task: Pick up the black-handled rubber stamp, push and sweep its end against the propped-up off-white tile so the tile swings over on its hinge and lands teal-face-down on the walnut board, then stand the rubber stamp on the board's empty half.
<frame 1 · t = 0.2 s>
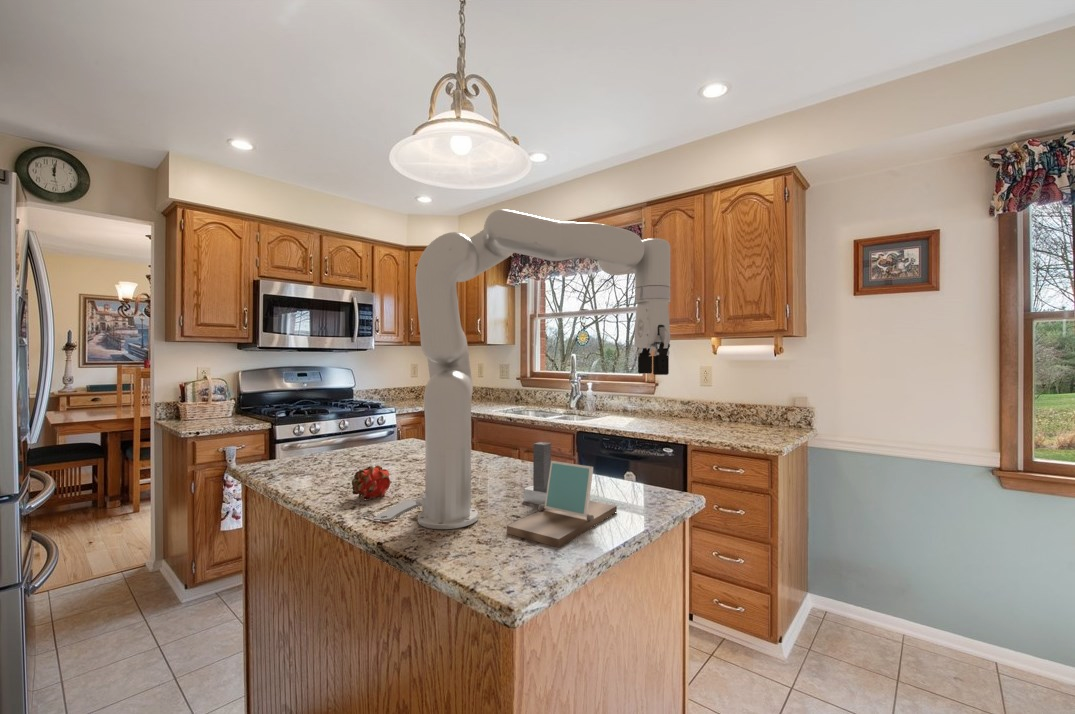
hand: (652, 374, 105), 31 cm above the countertop, tool pointing down, fingers open, 9 cm apart
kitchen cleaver: (408, 507, 111), on the countertop
board: (565, 522, 99), on the countertop
dragon fruit: (372, 498, 117), on the countertop
tile: (568, 487, 100), point 7 cm above the countertop, hinge at 75.0°
rubber stamp: (542, 502, 114), on the countertop
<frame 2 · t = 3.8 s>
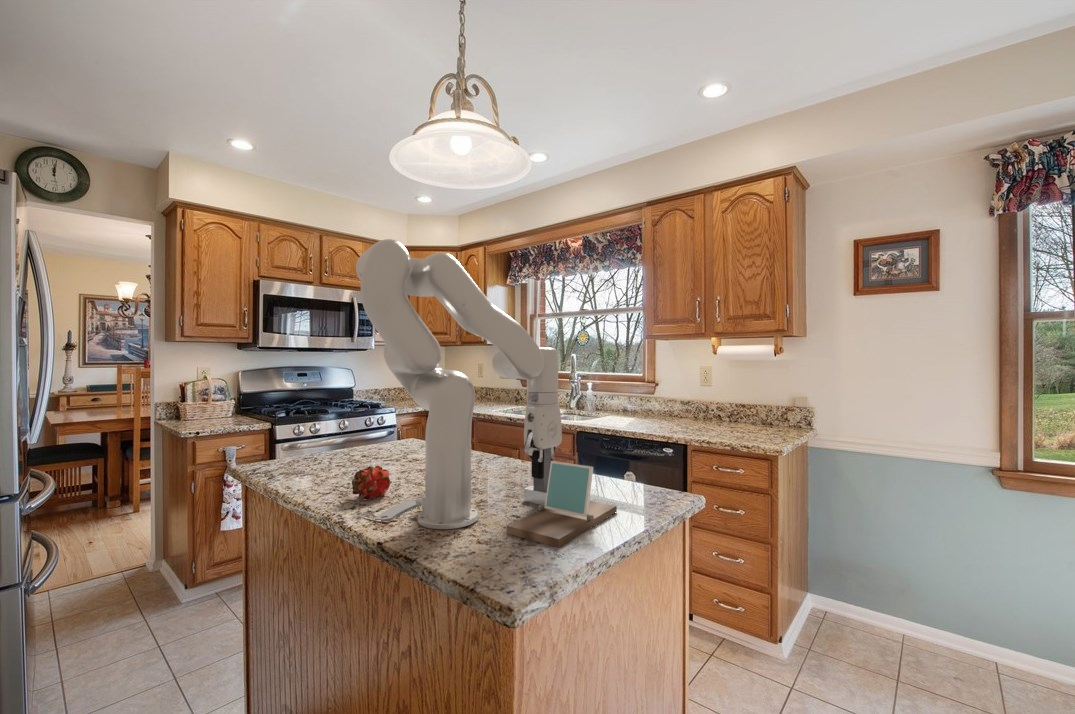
hand: (542, 475, 114), 6 cm above the countertop, tool pointing down, fingers closed on rubber stamp, 3 cm apart
rubber stamp: (542, 502, 114), on the countertop, touching gripper
everything else where it was.
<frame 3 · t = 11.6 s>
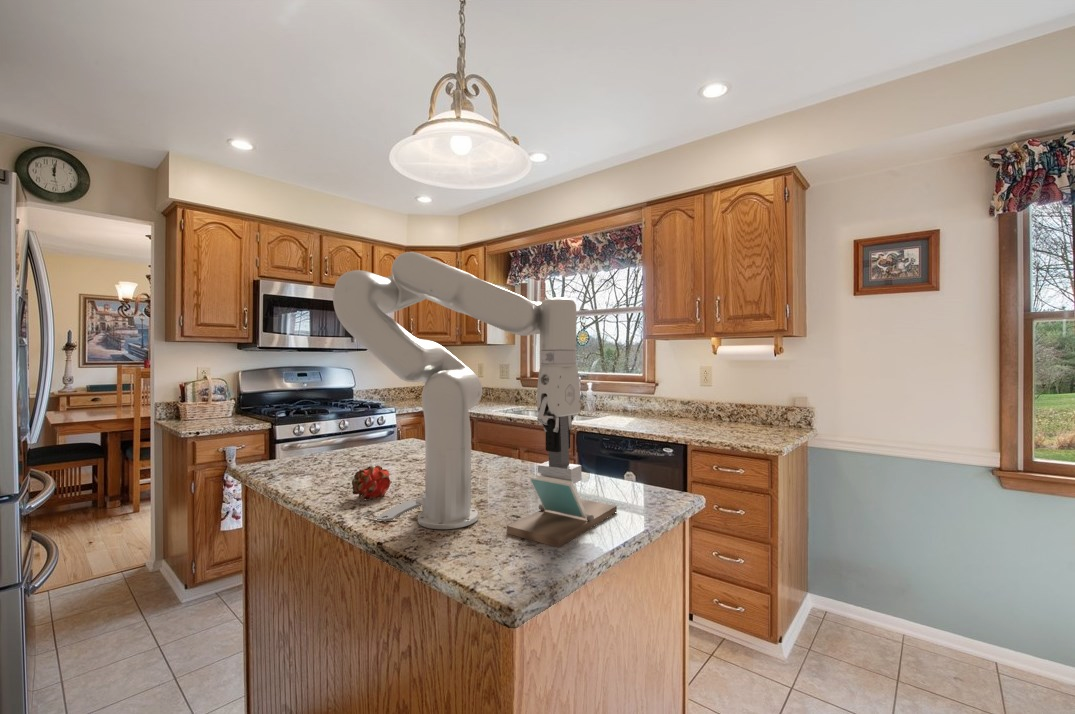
hand: (558, 449, 97), 16 cm above the countertop, tool pointing down, fingers closed on rubber stamp, 3 cm apart
tile: (557, 496, 97), point 6 cm above the countertop, hinge at 126.1°, touching rubber stamp
rubber stamp: (559, 479, 97), point 9 cm above the countertop, touching gripper, tile
everything else where it was.
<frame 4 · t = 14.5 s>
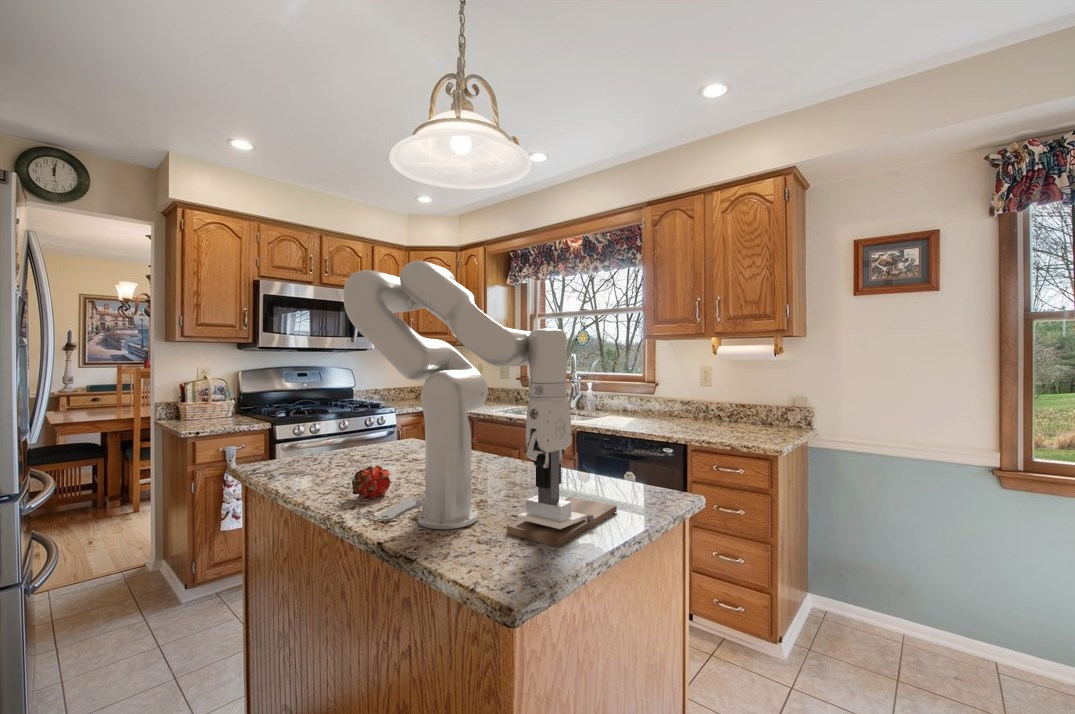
hand: (548, 484, 94), 9 cm above the countertop, tool pointing down, fingers closed on rubber stamp, 3 cm apart
tile: (552, 517, 95), point 2 cm above the countertop, hinge at 175.3°, touching rubber stamp
rubber stamp: (548, 516, 94), point 3 cm above the countertop, touching gripper, tile
everything else where it was.
when the fingers open (9 cm above the countertop, at t = 18.7 s): rubber stamp drops 1 cm, resting on board.
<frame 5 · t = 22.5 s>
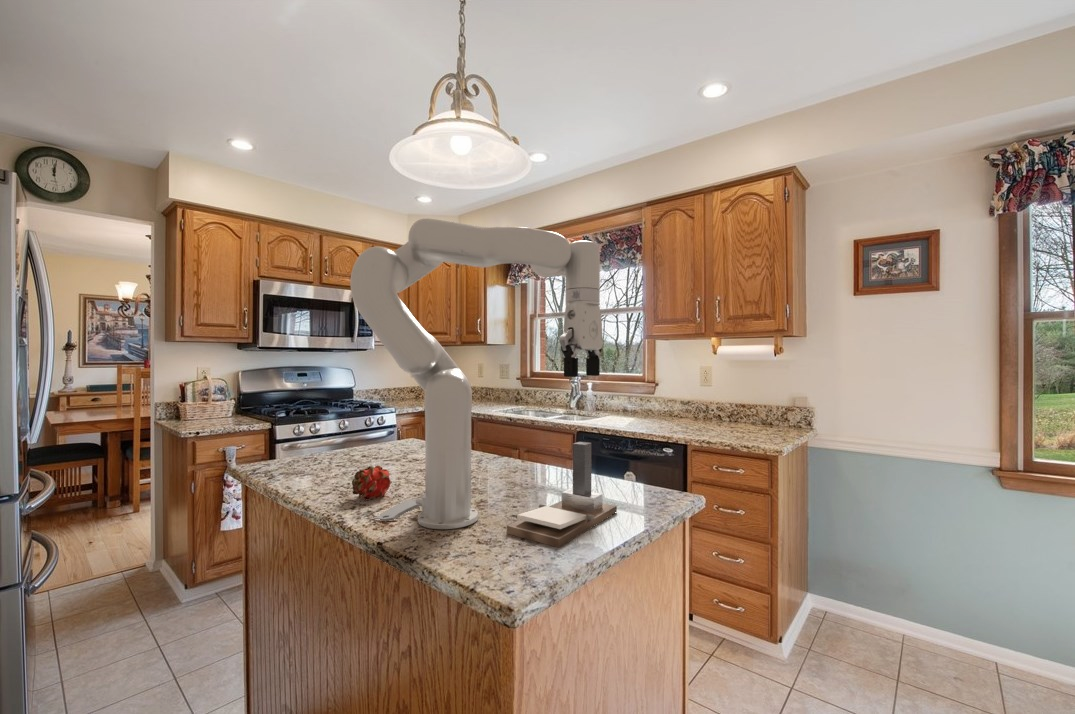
hand: (582, 376, 105), 30 cm above the countertop, tool pointing down, fingers open, 9 cm apart
tile: (552, 517, 95), point 2 cm above the countertop, hinge at 175.4°
rubber stamp: (582, 506, 105), point 1 cm above the countertop, touching board
everything else where it was.
at the end: tile at +175° (first picture: +75°); rubber stamp inside the target area on the board (0.2 cm from its centre), point 1.5 cm above the board's base; rubber stamp tilted 0° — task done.
